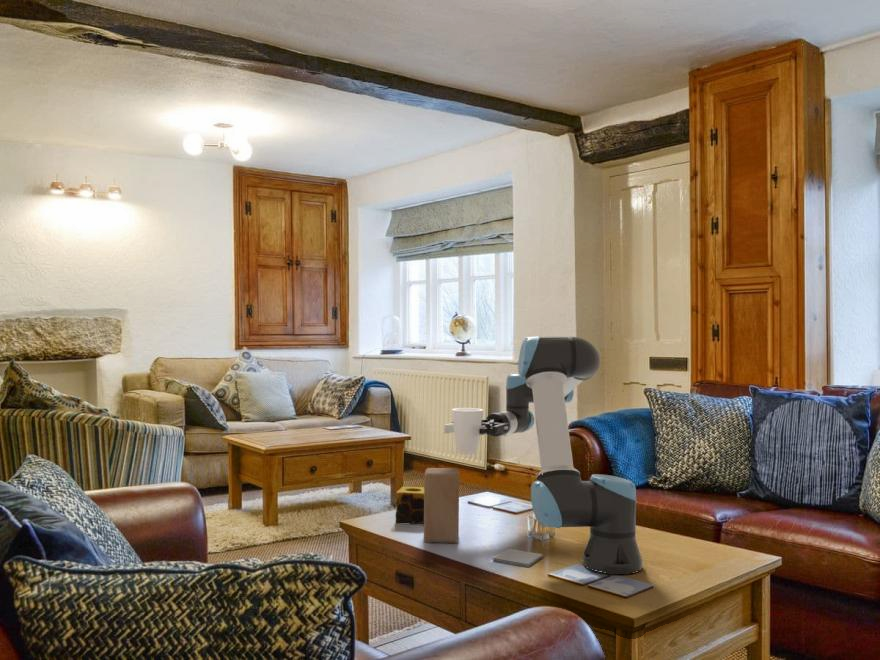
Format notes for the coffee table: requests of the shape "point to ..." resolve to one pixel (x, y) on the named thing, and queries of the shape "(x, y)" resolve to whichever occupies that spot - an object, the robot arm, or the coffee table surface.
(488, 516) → the coffee table surface
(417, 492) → the giraffe print tissue box
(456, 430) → the foam cup
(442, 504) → the block
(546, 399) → the robot arm
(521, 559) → the slate coaster
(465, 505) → the coffee table surface
